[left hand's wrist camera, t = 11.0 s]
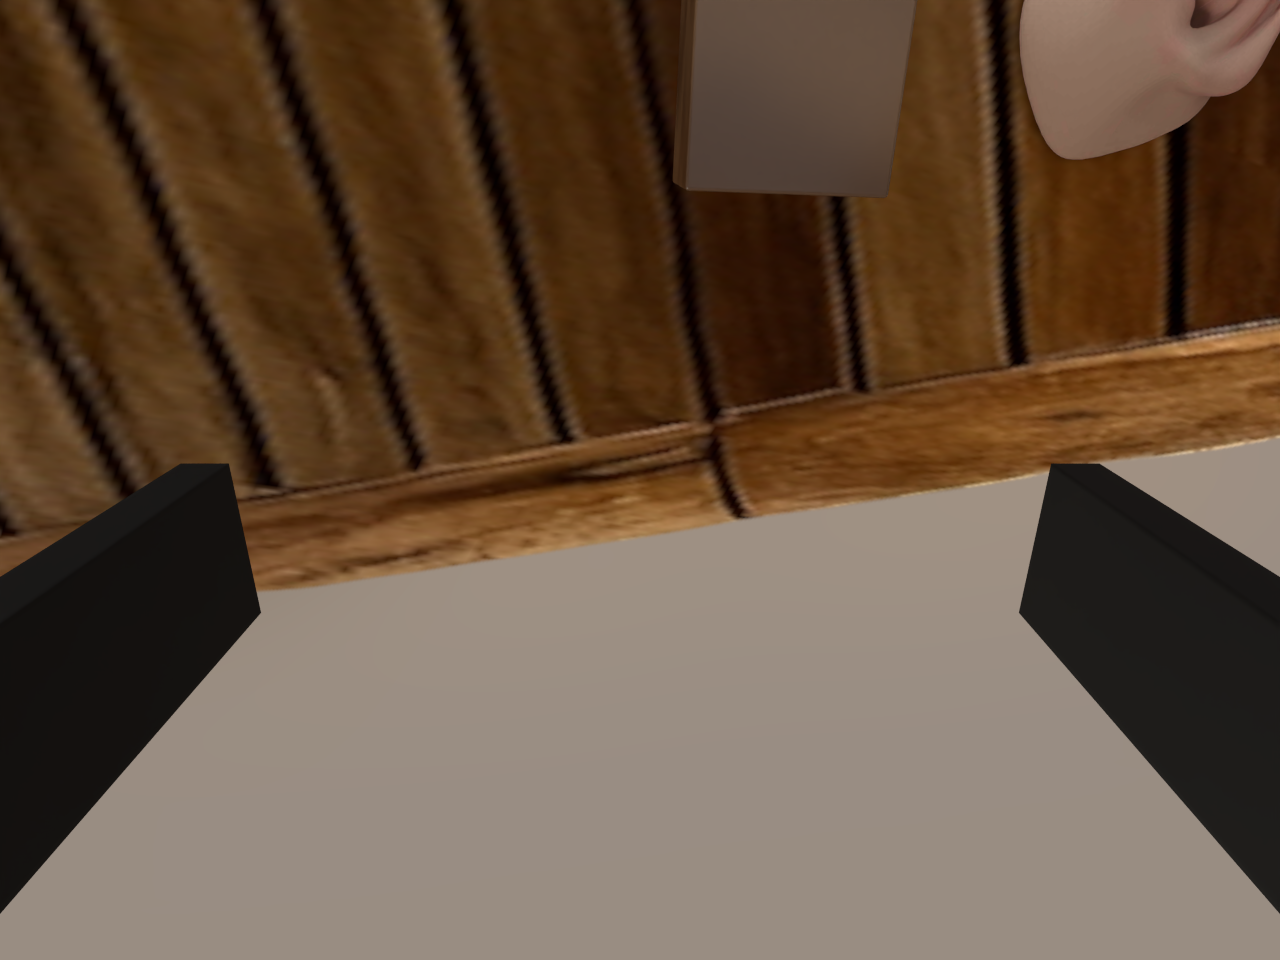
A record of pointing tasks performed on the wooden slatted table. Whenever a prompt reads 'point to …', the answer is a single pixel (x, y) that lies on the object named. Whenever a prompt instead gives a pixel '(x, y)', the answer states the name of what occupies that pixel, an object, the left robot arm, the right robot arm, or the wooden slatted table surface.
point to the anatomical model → (1135, 65)
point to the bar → (790, 95)
